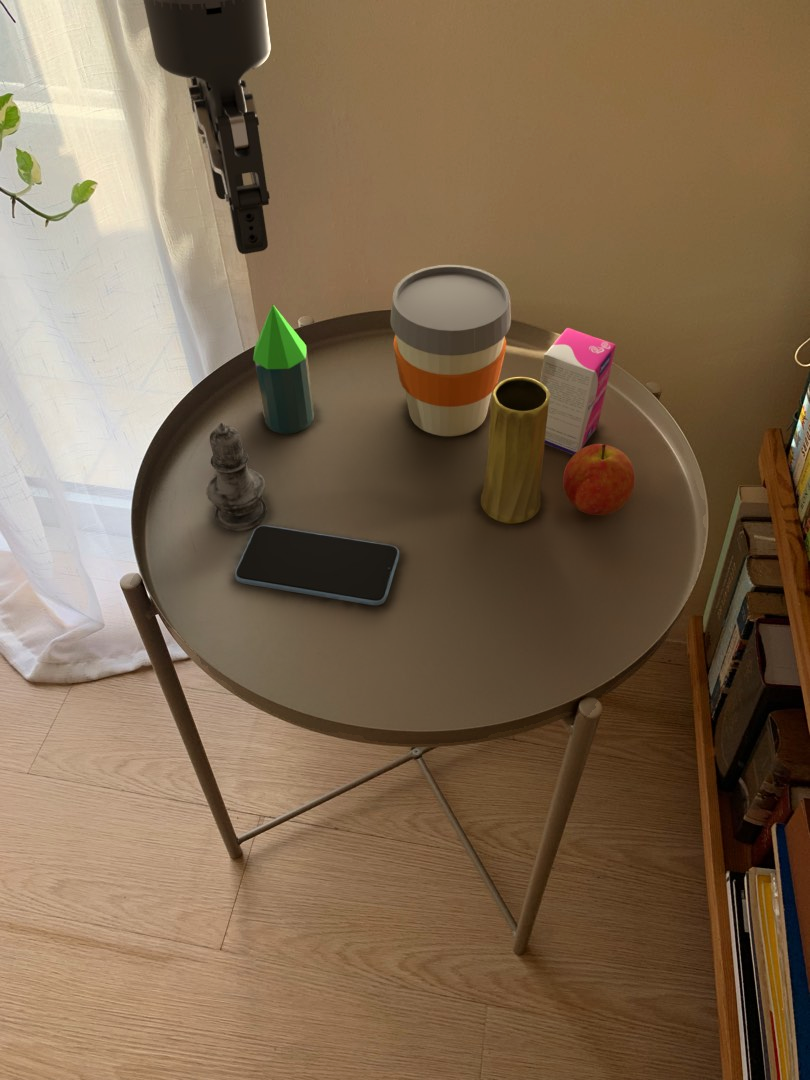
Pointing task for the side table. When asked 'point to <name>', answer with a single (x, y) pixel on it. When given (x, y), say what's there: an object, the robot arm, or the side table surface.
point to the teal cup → (286, 397)
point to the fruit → (598, 479)
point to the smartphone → (318, 565)
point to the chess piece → (234, 483)
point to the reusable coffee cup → (449, 344)
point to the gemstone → (278, 344)
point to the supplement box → (575, 388)
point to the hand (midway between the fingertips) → (241, 222)
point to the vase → (515, 450)
